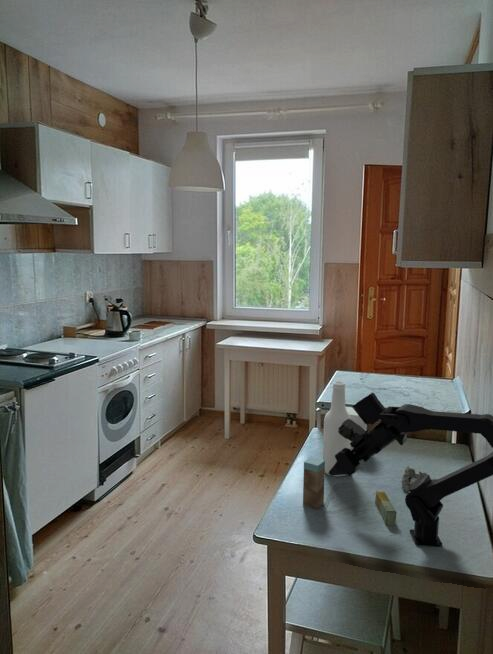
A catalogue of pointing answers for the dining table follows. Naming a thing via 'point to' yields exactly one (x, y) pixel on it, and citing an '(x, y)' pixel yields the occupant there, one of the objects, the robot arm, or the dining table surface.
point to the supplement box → (356, 418)
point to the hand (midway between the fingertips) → (337, 467)
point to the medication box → (385, 508)
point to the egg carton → (415, 476)
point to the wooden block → (313, 482)
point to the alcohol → (335, 427)
